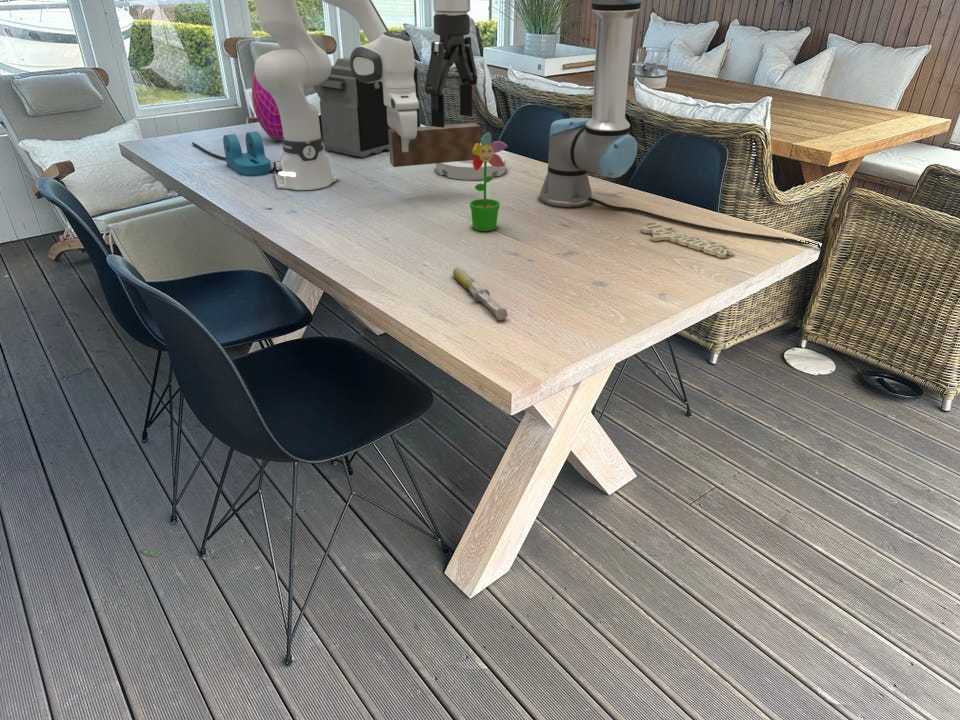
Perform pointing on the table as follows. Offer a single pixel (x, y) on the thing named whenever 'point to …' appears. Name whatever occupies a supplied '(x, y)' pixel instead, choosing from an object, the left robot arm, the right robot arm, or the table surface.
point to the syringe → (479, 293)
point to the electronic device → (354, 112)
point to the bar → (435, 145)
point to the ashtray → (469, 169)
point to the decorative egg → (266, 110)
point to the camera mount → (246, 154)
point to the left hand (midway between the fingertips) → (402, 149)
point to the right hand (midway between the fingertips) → (452, 121)
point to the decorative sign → (685, 240)
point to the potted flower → (485, 208)
